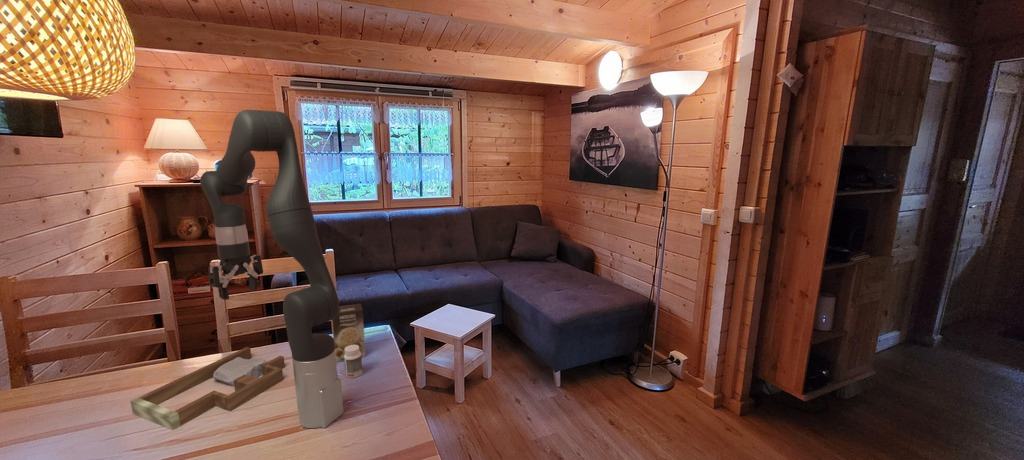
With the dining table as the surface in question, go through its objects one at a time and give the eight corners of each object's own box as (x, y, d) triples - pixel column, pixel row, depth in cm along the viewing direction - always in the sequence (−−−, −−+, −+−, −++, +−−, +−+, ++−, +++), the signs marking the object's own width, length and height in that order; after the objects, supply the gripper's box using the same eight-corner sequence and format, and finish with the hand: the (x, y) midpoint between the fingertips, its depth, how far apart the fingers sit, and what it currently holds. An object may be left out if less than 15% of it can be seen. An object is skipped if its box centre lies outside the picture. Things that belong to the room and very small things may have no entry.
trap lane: (298, 370, 117) (297, 360, 116) (188, 436, 90) (185, 422, 90) (248, 357, 125) (246, 346, 124) (132, 413, 98) (130, 401, 97)
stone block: (247, 393, 110) (272, 367, 119) (242, 380, 108) (267, 355, 117) (210, 391, 111) (237, 366, 120) (204, 377, 109) (231, 353, 118)
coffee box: (334, 363, 122) (330, 314, 119) (334, 353, 127) (330, 307, 124) (366, 356, 126) (362, 309, 122) (364, 347, 131) (361, 302, 128)
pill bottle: (366, 372, 117) (364, 346, 115) (352, 380, 113) (350, 353, 111) (356, 367, 119) (354, 342, 118) (342, 375, 115) (339, 348, 114)
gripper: (216, 247, 105) (224, 304, 108) (265, 236, 118) (271, 288, 121) (197, 245, 107) (205, 301, 110) (247, 235, 120) (253, 285, 123)
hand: (240, 294), depth 116 cm, fingers open, 8 cm apart
